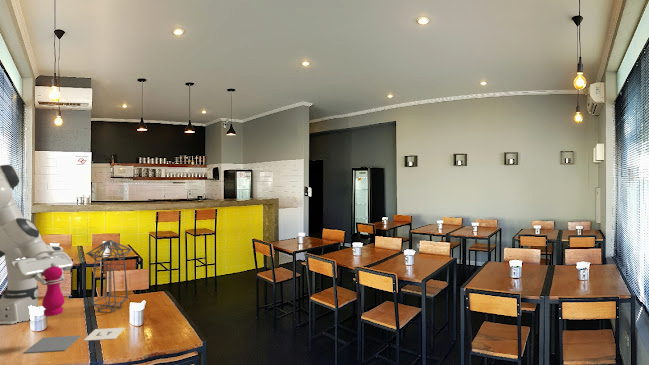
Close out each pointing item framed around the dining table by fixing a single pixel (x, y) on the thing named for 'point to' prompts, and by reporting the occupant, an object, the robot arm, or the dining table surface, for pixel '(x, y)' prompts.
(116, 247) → the geometric lantern
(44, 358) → the dining table surface
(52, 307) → the pepper mill
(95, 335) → the white flat square plate
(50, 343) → the slate mat
